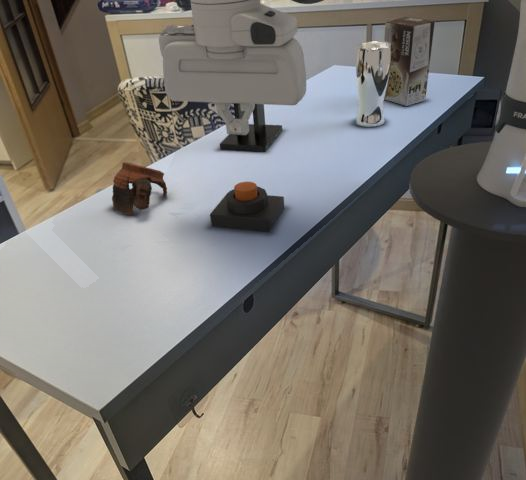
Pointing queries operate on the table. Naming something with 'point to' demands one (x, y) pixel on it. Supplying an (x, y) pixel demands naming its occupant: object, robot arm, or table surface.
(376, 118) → the beer glass
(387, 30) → the coffee box
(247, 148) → the black headphone stand
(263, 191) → the control block
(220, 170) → the table surface
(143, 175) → the brown arched piece
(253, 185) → the button
